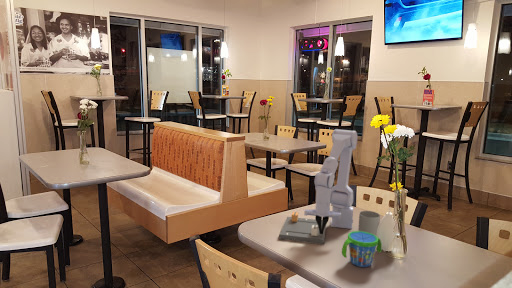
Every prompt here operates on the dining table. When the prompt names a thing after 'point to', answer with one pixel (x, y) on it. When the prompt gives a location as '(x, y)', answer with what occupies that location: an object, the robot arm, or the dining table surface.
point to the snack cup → (361, 247)
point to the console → (301, 231)
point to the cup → (369, 222)
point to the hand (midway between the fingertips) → (321, 233)
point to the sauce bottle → (386, 230)
